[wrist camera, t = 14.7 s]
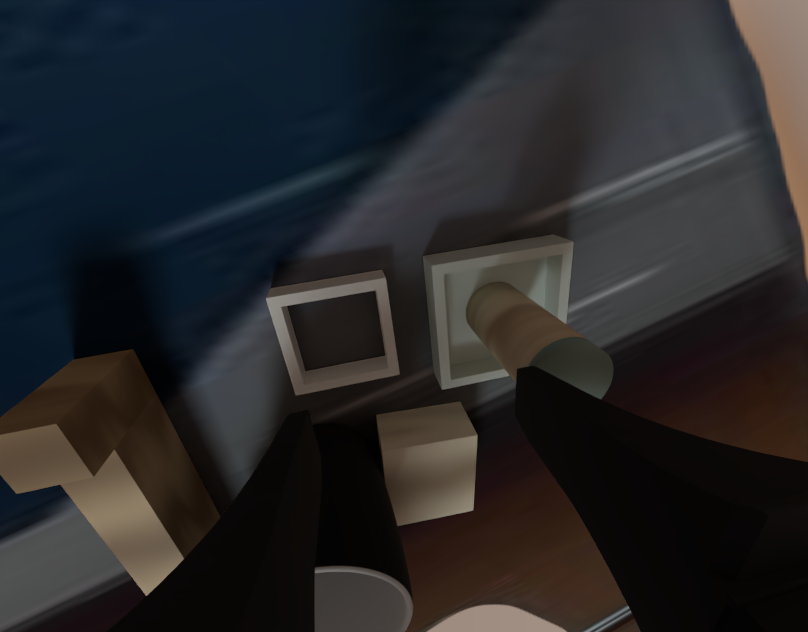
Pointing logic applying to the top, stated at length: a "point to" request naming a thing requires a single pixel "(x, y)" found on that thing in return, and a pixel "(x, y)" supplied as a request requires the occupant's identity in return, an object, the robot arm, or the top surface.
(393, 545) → the mug
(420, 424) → the push block
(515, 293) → the dowel
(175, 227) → the top surface
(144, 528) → the bench stop
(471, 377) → the tray
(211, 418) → the top surface
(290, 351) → the collar
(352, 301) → the top surface
